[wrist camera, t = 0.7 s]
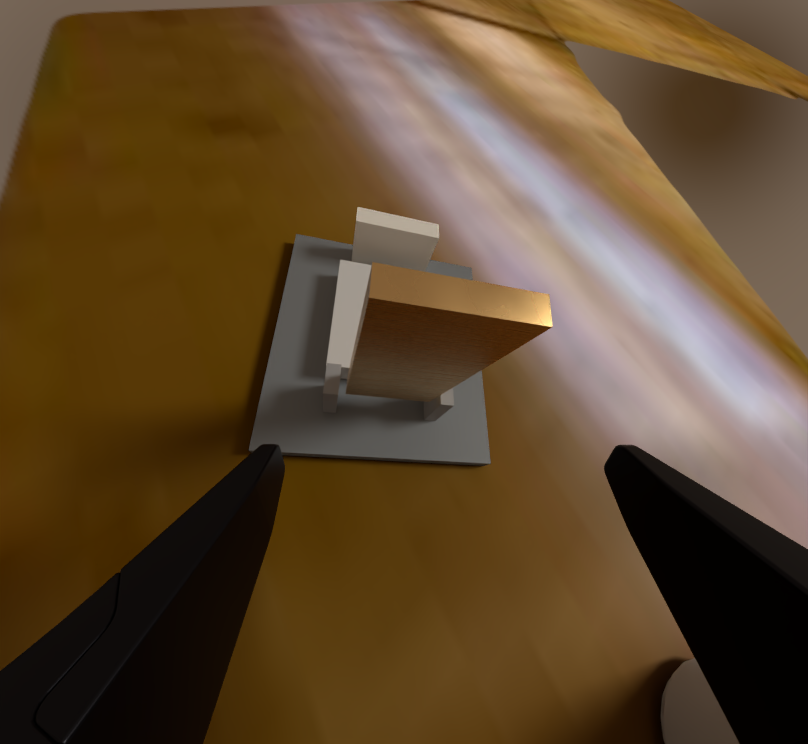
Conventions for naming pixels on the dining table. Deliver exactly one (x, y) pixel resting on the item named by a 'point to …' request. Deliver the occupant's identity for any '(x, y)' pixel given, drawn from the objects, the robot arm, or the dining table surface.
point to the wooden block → (436, 331)
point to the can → (692, 710)
